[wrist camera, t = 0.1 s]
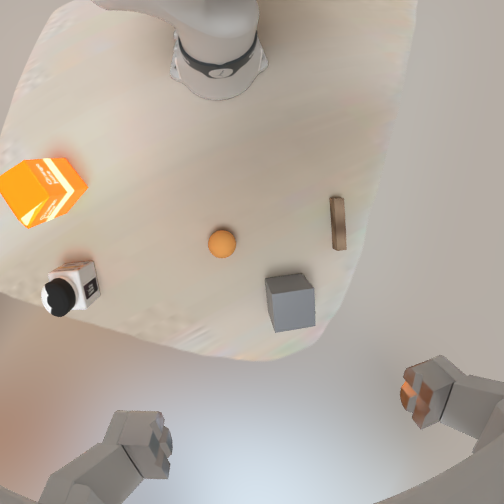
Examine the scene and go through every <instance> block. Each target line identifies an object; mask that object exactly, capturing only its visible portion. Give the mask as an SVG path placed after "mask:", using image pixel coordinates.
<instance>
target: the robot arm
mask: <svg viewBox="0 0 504 504" xmlns="http://www.w3.org/2000/svg"><path fill="white" fill-rule="evenodd" d="M91 1H92V2H93V3H95V4H96V5H98V6H99V7H101V8H103V9H105V10H109V11H111V10H120V11H134V12H140V13H144V14H148V15H151V16H154V17H157V18H159V19H161V20H164V21H166V22H167V23H169V24H171V25H172V26H174V27H175V29H176V30H175V31H174V40H176V43H175V46H174V53H173V58H172V63H171V69H170V76H171V78H173V79H174V80H177V81H179V82H182V83H184V84H185V85H186V86H187V87H188V88H189V89H190V90H191V91H192V92H193V93H195V94H196V95H198V96H200V97H202V98H206V99H210V100H224V99H229V98H232V97H235V96H237V95H239V94H241V93H242V92H244V91H245V90H246V89H247V88H248V87H249V86H250V85H251V83H252V82H253V80H254V79H255V77H256V76H257V75H258V74H259V73H261V72H262V71H264V70H265V69H266V68H267V67H268V61H267V58H266V56H265V53H264V51H263V48H262V46H261V43H260V41H259V38H258V36H257V30H256V29H257V24H258V20H259V14H260V12H259V6H258V3H257V1H256V0H91ZM261 59H262V60H261ZM175 68H177V69H175ZM403 378H404V379H405V383H404V384H403V385H402V387H401V391H400V399H401V402H402V405H403V407H404V408H405V410H406V411H409V412H412V413H413V414H412V419H413V420H414V421H415V423H416V424H417V425H418V427H419V428H420V429H423V428H426V427H428V426H430V425H432V424H435V423H437V422H439V421H440V423H443V424H445V425H447V426H449V427H451V428H453V429H456V430H458V431H460V432H462V433H465V434H467V435H469V436H471V437H474V438H476V439H478V441H477V443H476V445H475V446H474V448H473V455H471V456H469V457H468V458H466V459H465V460H463V461H462V462H460V463H458V464H457V465H455V466H453V467H451V468H450V469H448V470H446V471H445V472H443V473H441V474H439V475H437V476H435V477H433V478H431V479H430V480H428V481H426V482H424V483H422V484H419V485H418V486H415V487H413V488H411V489H409V490H407V491H404V492H402V493H400V494H397V495H395V496H393V497H390V498H388V499H385V500H383V501H380V502H377V503H374V504H504V382H500V381H495V380H491V379H486V378H481V377H477V376H473V375H469V376H466V375H465V374H464V373H463V372H462V371H460V370H459V369H458V368H457V367H456V366H455V365H454V364H453V363H451V362H450V361H449V360H448V359H447V358H446V357H444V356H442V355H439V356H436V357H434V358H432V359H429V360H427V361H424V362H422V363H419V364H416V365H414V366H411V367H408V368H406V370H405V372H404V376H403ZM172 448H173V447H172V437H171V434H170V431H169V429H168V428H167V427H165V426H164V417H163V415H162V413H161V412H158V411H156V412H155V411H123V410H117V411H116V412H115V413H114V415H113V418H112V420H111V422H110V425H109V427H108V430H107V432H106V435H105V437H104V440H103V442H102V443H97V444H96V445H95V446H93V447H92V448H91V449H89V450H87V451H86V452H85V453H83V454H82V455H80V456H79V457H77V458H76V459H74V460H73V461H71V462H70V463H68V464H67V465H65V466H64V467H62V468H61V469H59V470H58V471H56V472H55V473H53V474H51V475H50V477H49V479H48V481H47V484H46V486H45V488H44V490H43V493H42V495H41V497H40V499H39V502H36V501H33V500H31V499H28V498H26V497H24V496H22V495H19V494H17V493H15V492H13V491H11V490H8V489H6V488H4V487H2V486H0V504H122V503H123V501H124V500H125V499H126V498H127V497H128V496H129V495H130V494H131V493H132V492H133V491H134V490H135V489H136V487H137V486H138V485H139V484H140V483H141V482H142V481H143V478H145V479H146V478H147V479H168V476H169V469H170V463H169V461H168V459H167V458H168V457H169V456H170V455H171V454H172Z"/></svg>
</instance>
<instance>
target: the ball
mask: <svg viewBox="0 0 504 504" xmlns="http://www.w3.org/2000/svg"><path fill="white" fill-rule="evenodd" d="M208 247H209V250H210V252H211V253H212V254H213V255H214V256H215V257H218V258H226V257H229V256H230V255H231V254H232V253H233V252H234V250H235V248H236V241H235V238H234V236H233V235H232V234H231V233H230V232H228V231H224V230H220V231H216V232H215V233H213V234H212V235H211V237H210V238H209V241H208Z"/></svg>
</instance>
